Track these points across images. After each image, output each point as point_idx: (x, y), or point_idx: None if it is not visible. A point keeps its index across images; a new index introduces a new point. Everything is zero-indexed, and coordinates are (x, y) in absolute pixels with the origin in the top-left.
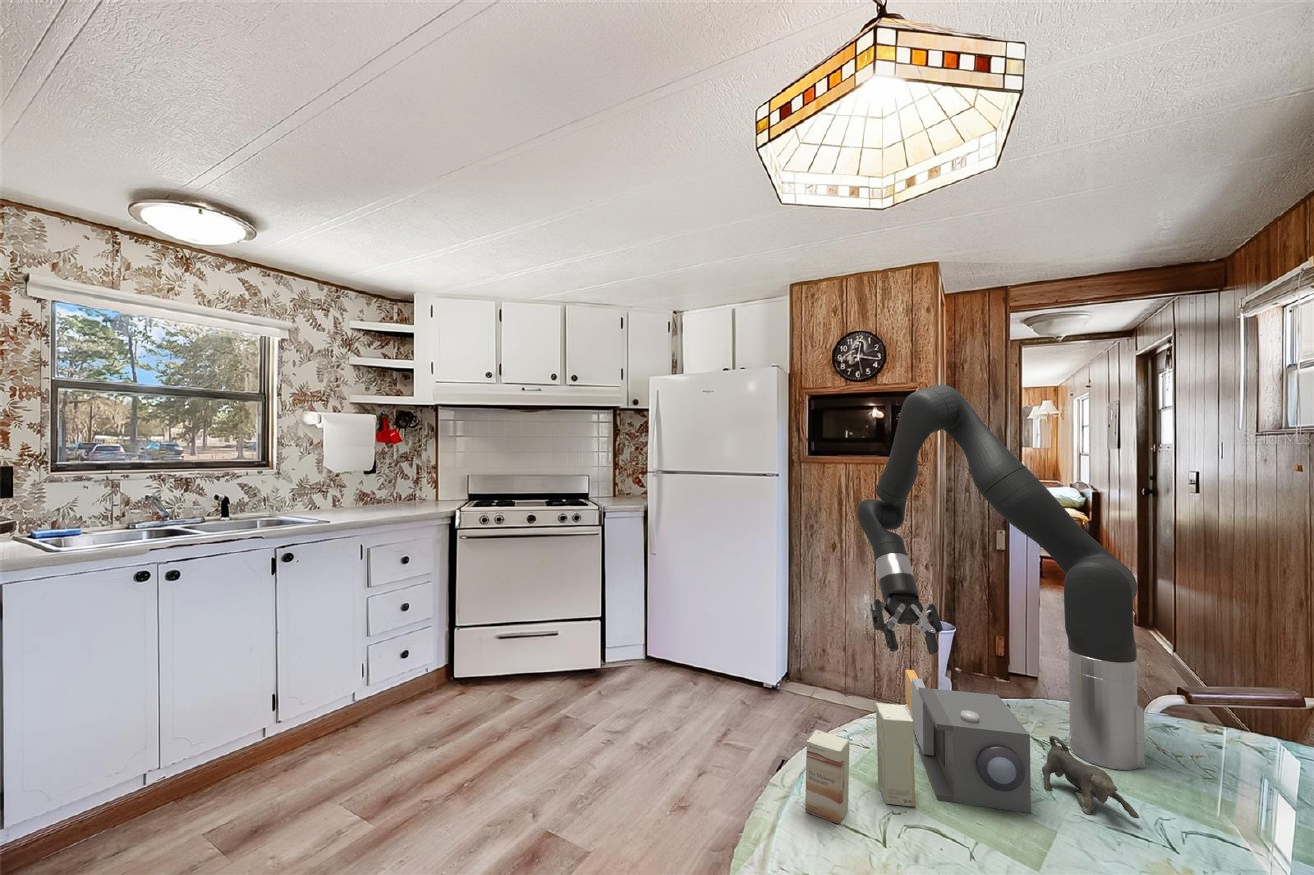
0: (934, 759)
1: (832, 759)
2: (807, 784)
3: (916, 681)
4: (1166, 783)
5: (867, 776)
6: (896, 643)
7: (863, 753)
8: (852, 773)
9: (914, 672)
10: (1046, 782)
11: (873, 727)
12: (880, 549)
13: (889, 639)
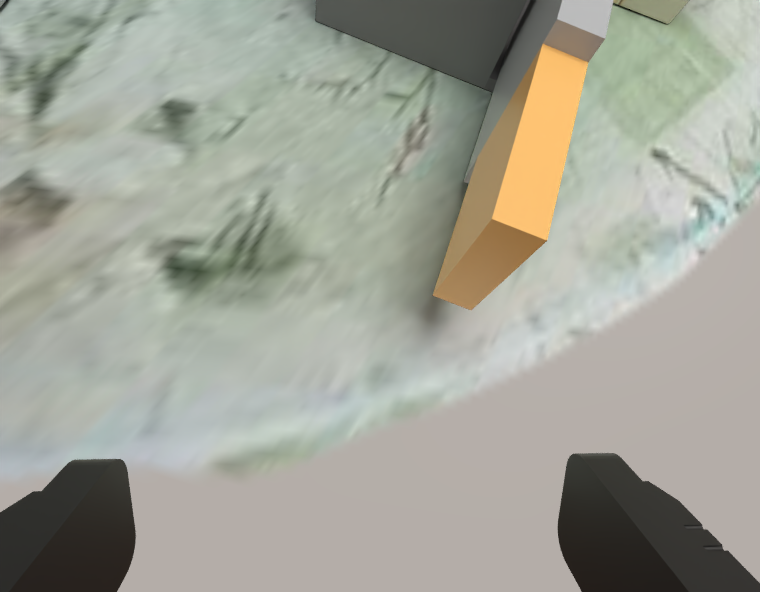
0: (510, 38)
1: None
2: None
3: (596, 1)
4: None
5: (686, 46)
6: (611, 480)
7: (674, 129)
8: (717, 62)
9: (506, 186)
10: None
11: (605, 263)
12: None
13: (713, 537)
